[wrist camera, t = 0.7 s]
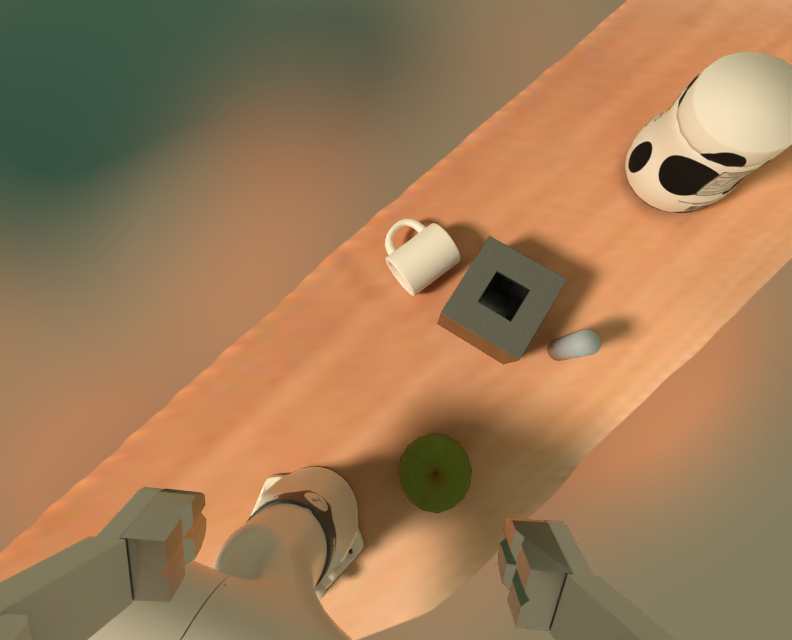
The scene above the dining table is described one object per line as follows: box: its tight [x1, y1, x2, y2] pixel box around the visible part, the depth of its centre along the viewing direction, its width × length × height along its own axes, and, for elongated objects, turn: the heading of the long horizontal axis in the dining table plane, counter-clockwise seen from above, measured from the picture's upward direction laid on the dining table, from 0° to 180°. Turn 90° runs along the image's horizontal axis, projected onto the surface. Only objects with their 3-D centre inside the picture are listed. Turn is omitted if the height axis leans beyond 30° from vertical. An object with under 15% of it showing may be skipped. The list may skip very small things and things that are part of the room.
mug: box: [385, 219, 461, 296], centre depth 64 cm, size 12×10×8 cm
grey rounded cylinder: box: [548, 330, 601, 361], centre depth 58 cm, size 4×4×11 cm
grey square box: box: [437, 236, 567, 364], centre depth 60 cm, size 14×13×10 cm
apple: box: [399, 433, 472, 513], centre depth 56 cm, size 11×10×10 cm
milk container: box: [625, 52, 792, 213], centre depth 59 cm, size 17×17×18 cm
